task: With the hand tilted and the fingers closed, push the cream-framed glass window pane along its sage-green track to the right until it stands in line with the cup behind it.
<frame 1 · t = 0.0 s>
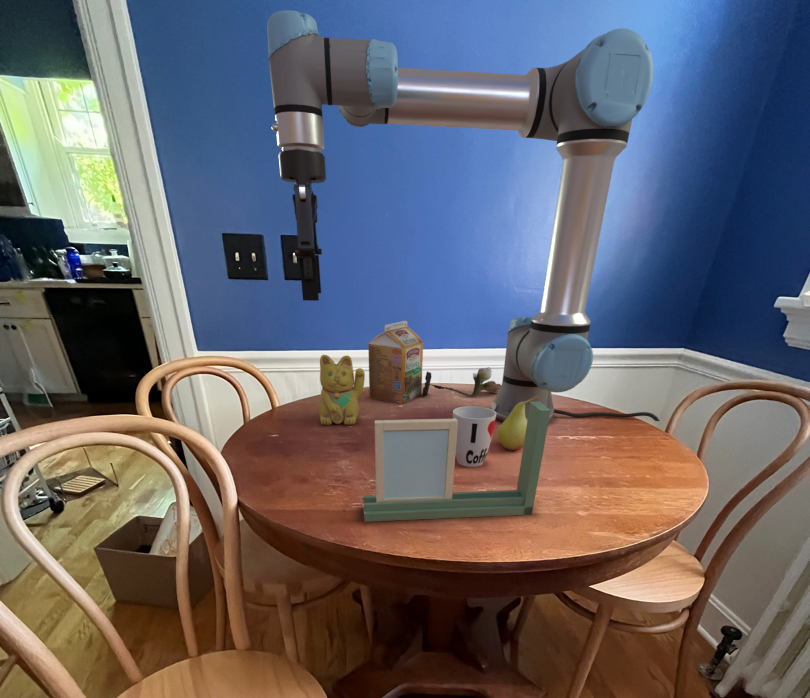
hand: (312, 296, 89), 28 cm above the table, tool pointing down, fingers open, 13 cm apart
window pane: (415, 463, 72), point 8 cm above the table, slide at 0.0 cm
cup: (469, 462, 95), on the table
milk carton: (395, 397, 135), on the table
fruit: (513, 450, 101), on the table
artificial flower: (461, 395, 137), on the table
figurine: (342, 420, 116), on the table
window frame: (447, 511, 77), on the table
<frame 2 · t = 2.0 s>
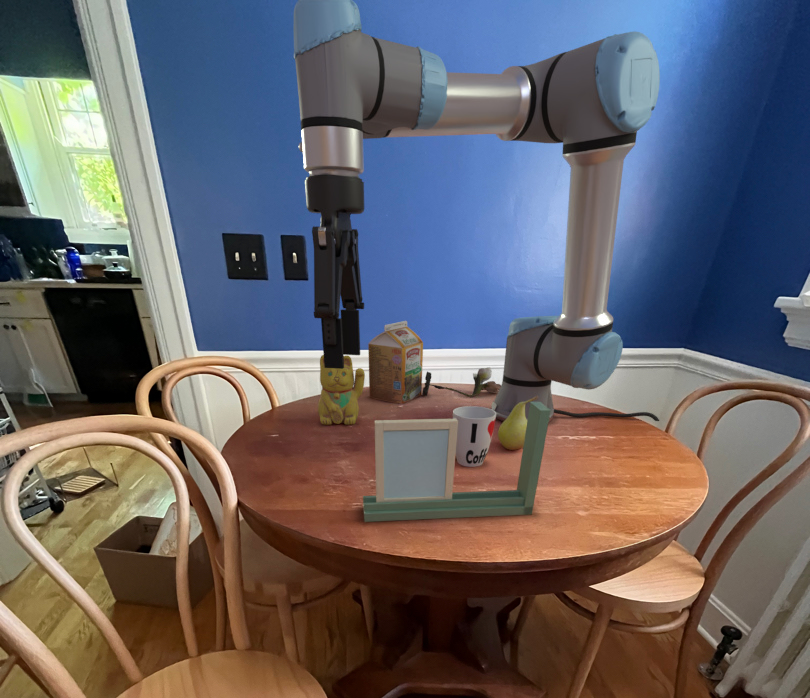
hand: (343, 360, 73), 21 cm above the table, tool pointing down, fingers open, 9 cm apart
nothing on the table moved.
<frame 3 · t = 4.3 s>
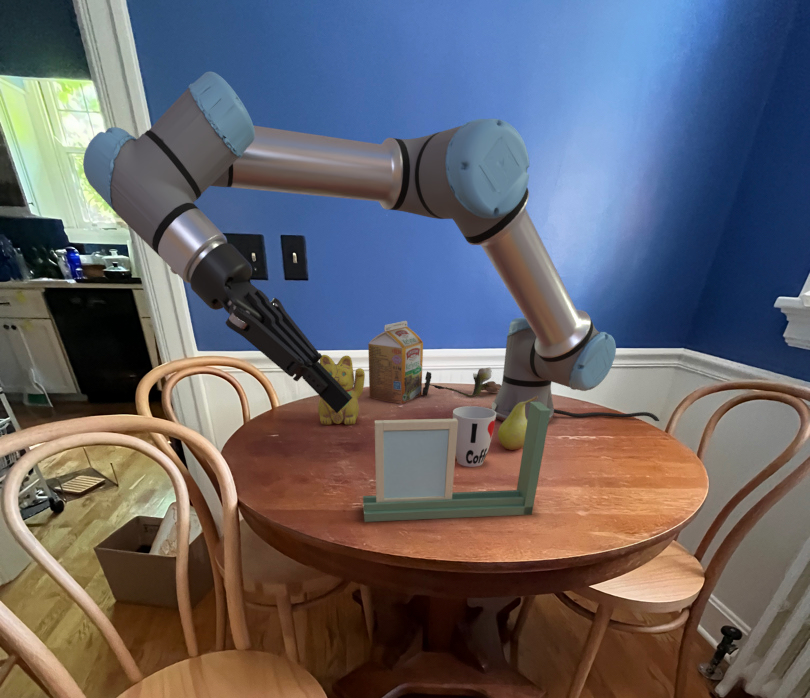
hand: (344, 405, 66), 18 cm above the table, tool tilted 45°, fingers closed
nothing on the table moved.
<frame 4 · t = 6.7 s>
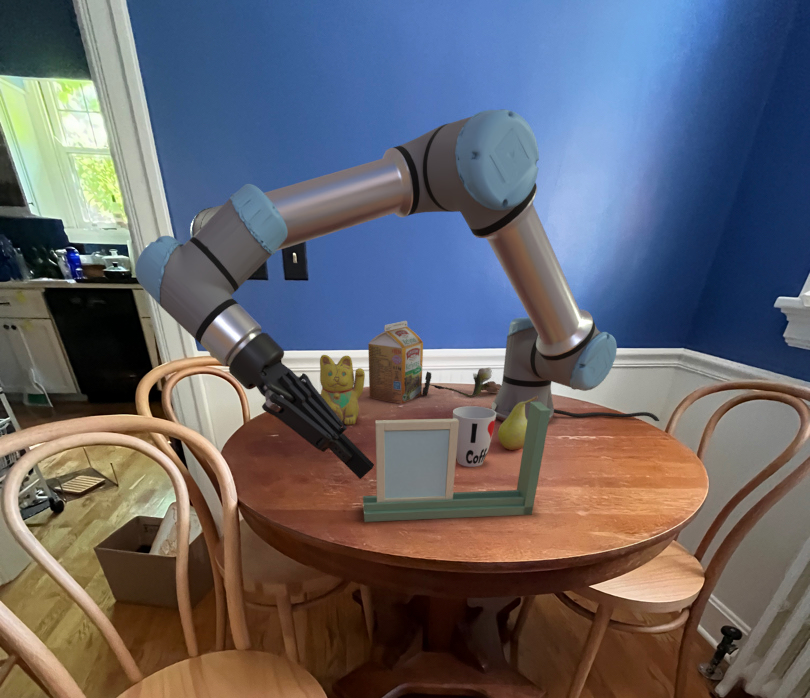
hand: (367, 471, 72), 7 cm above the table, tool tilted 45°, fingers closed
window pane: (415, 463, 72), point 8 cm above the table, slide at 0.1 cm, touching gripper
everything else where it was.
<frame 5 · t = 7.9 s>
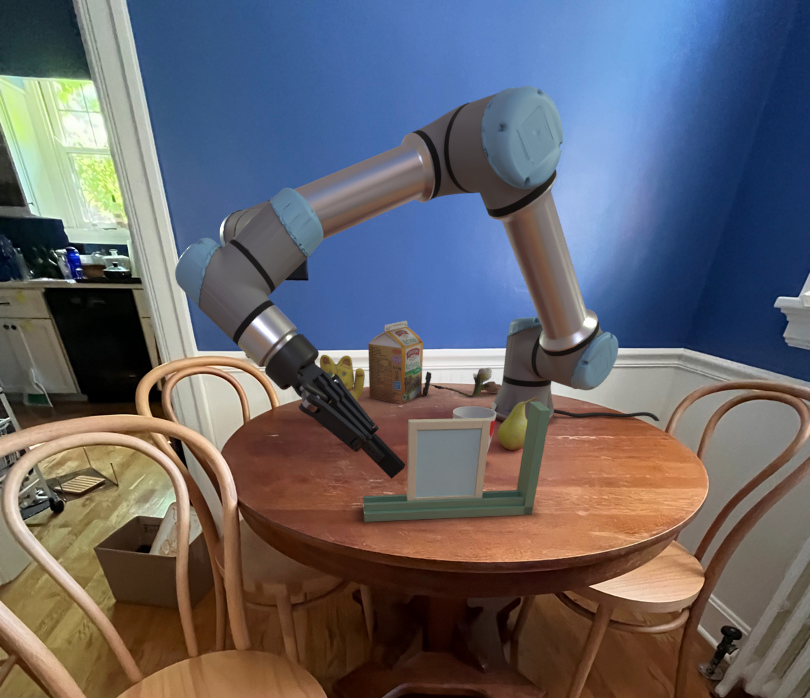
hand: (398, 471, 73), 7 cm above the table, tool tilted 45°, fingers closed
window pane: (446, 462, 73), point 8 cm above the table, slide at 4.9 cm, touching gripper
everything else where it was.
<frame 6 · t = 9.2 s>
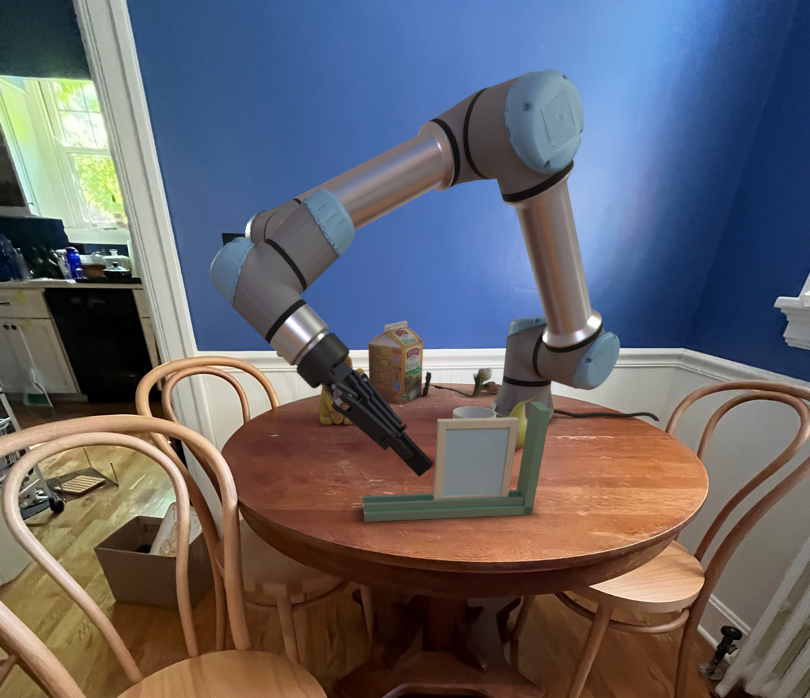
hand: (426, 469, 73), 7 cm above the table, tool tilted 45°, fingers closed
window pane: (474, 462, 73), point 9 cm above the table, slide at 9.2 cm, touching gripper
everything else where it was.
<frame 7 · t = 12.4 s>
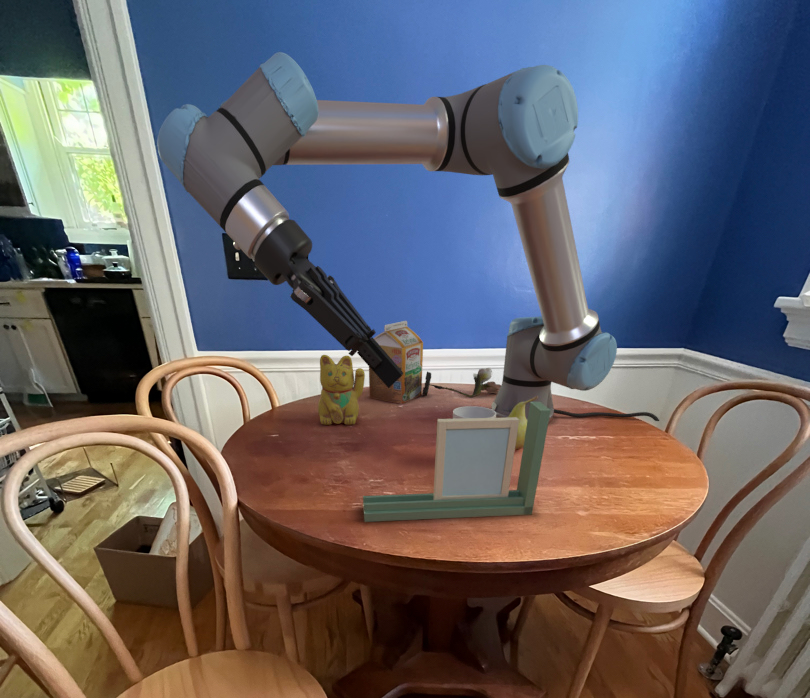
hand: (396, 380, 69), 20 cm above the table, tool tilted 45°, fingers closed
window pane: (474, 462, 73), point 8 cm above the table, slide at 9.2 cm
everything else where it was.
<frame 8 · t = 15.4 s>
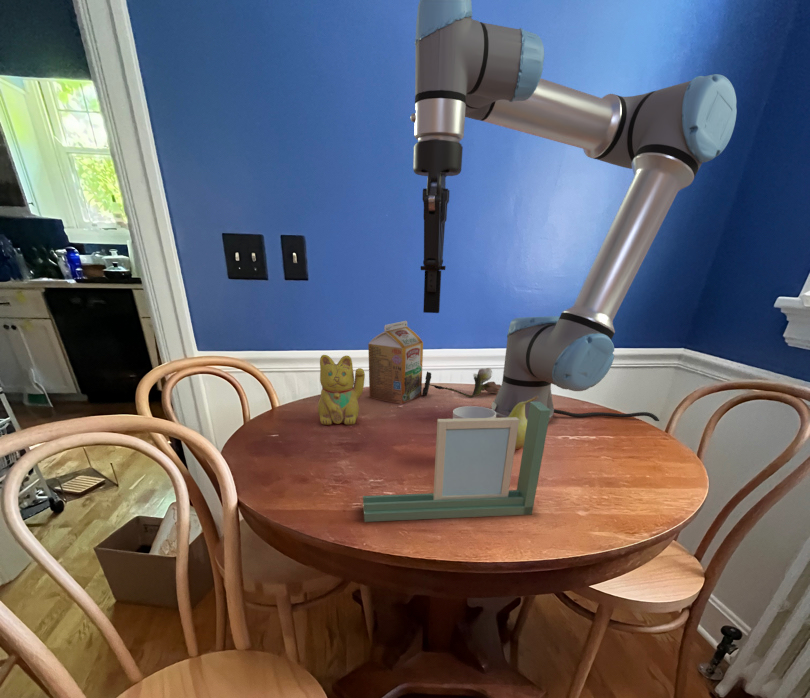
hand: (431, 312, 85), 26 cm above the table, tool pointing down, fingers closed
nothing on the table moved.
at the end: window pane slide at 9.2 cm; cup moved 0.2 cm from its start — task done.
